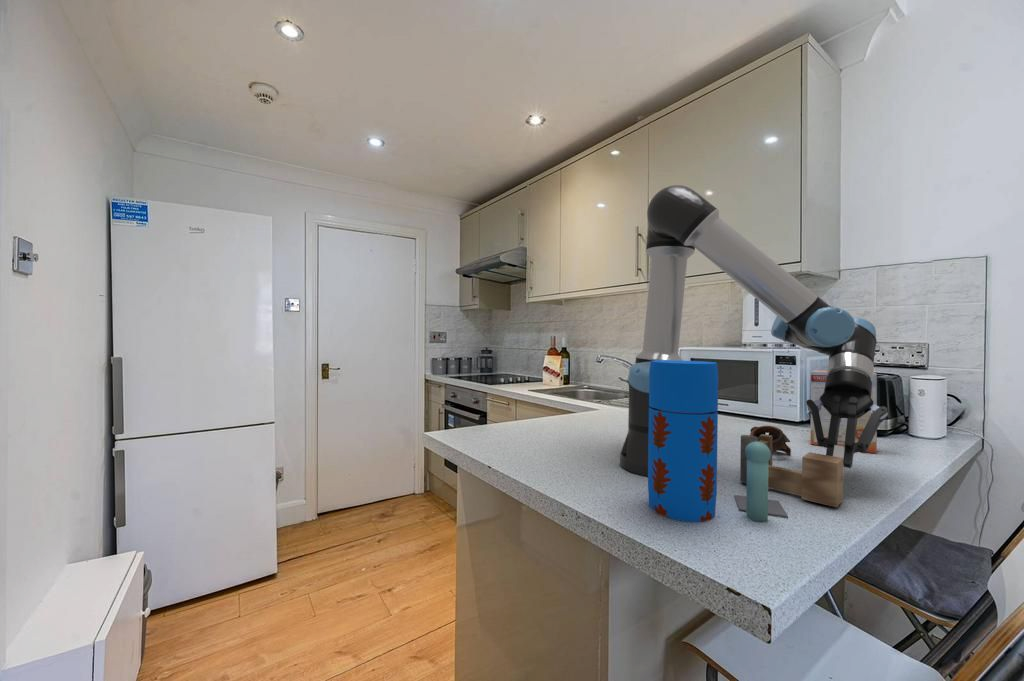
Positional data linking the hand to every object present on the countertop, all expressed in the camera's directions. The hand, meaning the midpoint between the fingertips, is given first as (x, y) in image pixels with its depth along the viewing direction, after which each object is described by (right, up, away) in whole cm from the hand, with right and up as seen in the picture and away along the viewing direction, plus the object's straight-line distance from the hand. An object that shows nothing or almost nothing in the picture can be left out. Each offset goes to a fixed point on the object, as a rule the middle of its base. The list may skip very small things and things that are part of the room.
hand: (836, 480), depth 75 cm
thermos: (-30, -3, -5) cm, 31 cm away
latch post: (-19, -3, -8) cm, 21 cm away
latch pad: (-16, -3, -4) cm, 17 cm away
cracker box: (+31, -4, +38) cm, 49 cm away
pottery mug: (+6, -4, +31) cm, 31 cm away
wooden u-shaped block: (-7, -3, +3) cm, 8 cm away
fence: (-6, -3, +13) cm, 15 cm away
